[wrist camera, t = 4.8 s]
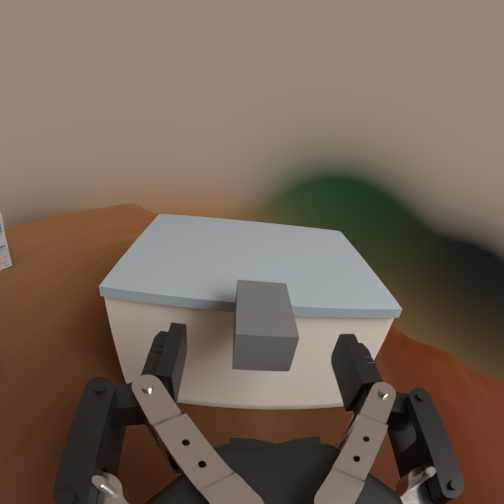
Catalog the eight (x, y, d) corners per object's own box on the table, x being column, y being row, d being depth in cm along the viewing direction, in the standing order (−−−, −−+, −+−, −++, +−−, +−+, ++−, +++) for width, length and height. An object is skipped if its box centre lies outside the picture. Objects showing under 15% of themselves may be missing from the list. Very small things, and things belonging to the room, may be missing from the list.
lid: (69, 342, 13) (57, 307, 12) (159, 220, 32) (159, 199, 31) (427, 361, 14) (444, 332, 13) (338, 237, 34) (342, 218, 33)
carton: (129, 393, 23) (103, 294, 18) (162, 303, 37) (159, 221, 32) (347, 405, 24) (395, 316, 20) (317, 315, 39) (338, 238, 34)
